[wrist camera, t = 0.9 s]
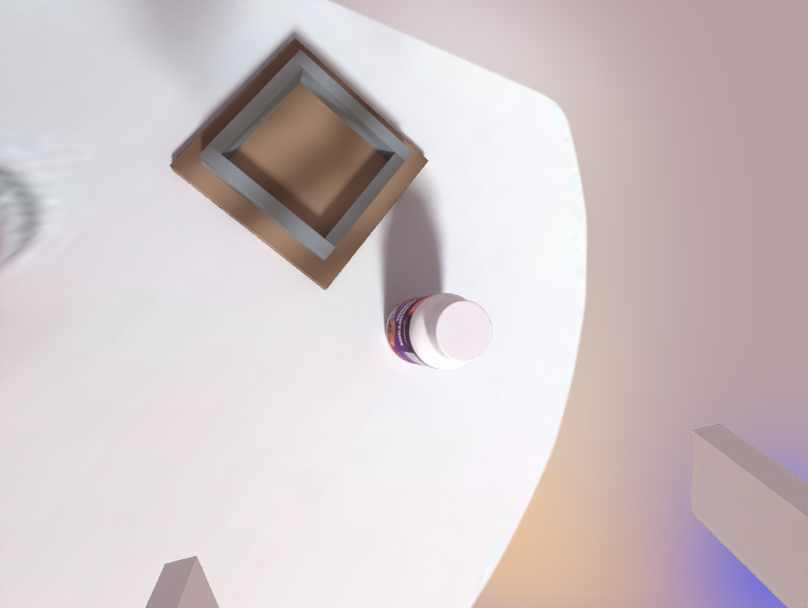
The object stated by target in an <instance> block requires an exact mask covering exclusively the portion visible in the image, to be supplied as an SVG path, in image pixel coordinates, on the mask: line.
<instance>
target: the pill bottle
mask: <svg viewBox="0 0 808 608" xmlns="http://www.w3.org/2000/svg"><path fill="white" fill-rule="evenodd" d="M491 337H492V326H491V321H490V319H489V317H488V315H487V313H486V312H485V310H484V309H483V308H482V307H481V306H479V305H478V304H476V303H474V302H471V301H467V300H466V299H464V298H463V297H460V296H458V295H455V294H449V293H442V294H436V295H431V296H426V297H420V298H414V299H410V300H407V301H404V302H402V303H400V304H399V305H398V306H396V307H395V308H394V310H393V311H392V312H391V314H390V316H389V318H388V320H387V324H386V338H387V342H388V344H389V346H390V348H391V350H392V351H393V352H394V353H395V354H396V355H397V356H398V357H399V358H401V359H403V360H405V361H407V362H410V363H415V364H419V365H423V366H427V367H432V368H436V369H442V370H450V369H455V368H458V367H461V366H463V365H464V364H466V363H467V362H469V361H473V360H475V359H477V358H479V357H480V356H481V355H482V354H483V353H484V352H485V351H486V350H487V348H488V346H489V344H490V342H491Z"/></svg>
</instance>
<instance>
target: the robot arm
mask: <svg viewBox="0 0 808 608" xmlns="http://www.w3.org/2000/svg"><path fill="white" fill-rule="evenodd" d="M692 446H693V447H692V513H693V514H694V515H695V516H696V517H697V518H698V519H699V520H700V521H701V522H702V523H703V524H704V525H705V526H706V527H707V528H708V529H709V530H710V531H711V532H712V533H713V534H714V535H715V536H716V537H717V538H718V539H719V540H720V541H721V542H722V543H723V544H724V545H725V546H726V547H727V548H728V549H729V550H730V551H731V552H732V553H733V554H734V555H735V556H736V557H737V558H738V559H739V560H740V561H741V562H742V563H743V564H744V565H745V566H746V567H747V568H748V569H749V570H750V571H751V572H752V573H753V574H754V575H755V576H756V577H758V579H759V580H760V581H762V583H763V584H764V585H765V586H766V587H767V588H769V590H770V591H771V592H772V593H773V594H774V595H776V596H777V598H778V599H780V600H781V601H782V602H783V603H784V604H785V605H786V606H787V607H788V608H808V484H807V483H806V482H804V481H803V480H801V479H800V478H798V477H797V476H795V475H794V474H792V473H791V472H789V471H788V470H786V469H785V468H784V467H782V466H781V465H779V464H778V463H776V462H775V461H773V460H772V459H770V458H769V457H767V456H766V455H764V454H763V453H761V452H760V451H759V450H757V449H756V448H754V447H753V446H751V445H750V444H748V443H747V442H745V441H744V440H742V439H741V438H739V437H738V436H737V435H735V434H734V433H732V432H731V431H729V430H728V429H726V428H725V427H723V426H722V425H720V424H716V425H712V426H709V427H705V428H701V429H697V430H693V441H692ZM146 608H219V607H218V604H217V602H216V600H215V597H214V595H213V593H212V590H211V588H210V586H209V584H208V581H207V579H206V577H205V574H204V572H203V570H202V567H201V565H200V563H199V560H198V558H197V556H195V557H191V558H187V559H183V560H179V561H175V562H171V563H167V564H165V565H164V568H163V570H162V572H161V574H160V577H159V579H158V581H157V583H156V586H155V588H154V590H153V592H152V595H151V597H150V599H149V601H148V603H147V606H146Z"/></svg>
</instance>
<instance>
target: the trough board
mask: <svg viewBox="0 0 808 608" xmlns="http://www.w3.org/2000/svg"><path fill="white" fill-rule="evenodd" d="M427 162H428V160H427V159H426V158H425V157H424V156H423V155H422V154H421V153H420V152H418V151H417V150H416V149H415V148H414V147H413V146H412V145H411V144H410V143H409V142H408V141H406V140H405V139H404V138H403V137H402V136H401V135H400V134H399V133H398V132H397V131H396V130H394V129H393V128H392V127H391V126H390V125H389V124H388V123H387V122H386V121H385V120H384V119H383V118H381V117H380V116H379V115H378V114H377V113H376V112H375V111H374V110H373V109H372V108H371V107H369V106H368V105H367V104H366V103H365V102H364V101H363V100H362V99H361V98H360V97H359V96H357V95H356V94H355V93H354V92H353V91H352V90H351V89H350V88H349V87H348V86H347V85H346V84H344V83H343V82H342V81H341V80H340V79H339V78H338V77H337V76H336V75H335V74H334V73H332V72H331V71H330V70H329V69H328V68H327V67H326V66H325V65H324V64H323V63H322V62H320V61H319V60H318V59H317V58H316V57H315V56H314V55H313V54H312V53H311V52H310V51H309V50H307V49H306V48H305V47H304V46H303V45H302V44H301V43H300V42H299V41H298V40H297V39H295V38H294V39H293V40H292V41H291V42H290V43H289V44H288V45H287V46H286V47H285V48H284V49H283V51H282V52H281V53H280V54H279V55H278V56H277V57H276V58H275V59H274V60H273V61H272V62H271V63H270V64H269V65H268V66H267V67H266V68H265V69H264V70H263V71H262V72H261V73H260V74H259V75H258V76H257V77H256V78H255V79H254V80H253V81H252V82H251V83H250V84H249V85H248V86H247V87H246V88H245V89H244V90H243V91H242V92H241V93H240V94H239V95H238V96H237V97H236V99H235V100H234V101H233V102H232V103H231V104H230V105H229V106H228V107H227V108H226V109H225V110H224V111H223V112H222V113H221V114H220V115H219V116H218V117H217V118H216V119H215V120H214V121H213V122H212V123H211V124H210V125H209V126H208V127H207V128H206V129H205V130H204V131H203V132H202V133H201V134H200V135H199V136H198V137H197V138H196V139H195V140H194V141H193V142H192V143H191V144H190V145H189V146H188V148H187V149H186V150H185V151H184V152H183V153H182V154H181V155H180V156H179V157H178V158H177V159H176V160H175V161H174V162H173V163H172V164H171V165H170V166H171V168H172V170H173V171H174V172H175V173H177V174H178V175H179V176H181V177H182V178H183V179H184V180H186V181H187V182H188V183H189V184H191V185H192V186H193V187H195V188H196V189H197V190H198V191H200V192H201V193H202V194H203V195H205V196H206V197H207V198H209V199H210V200H211V201H212V202H214V203H215V204H216V205H217V206H219V207H220V208H221V209H222V210H224V211H225V212H226V213H228V214H229V215H230V216H231V217H233V218H234V219H235V220H236V221H238V222H239V223H240V224H242V225H243V226H244V227H245V228H247V229H248V230H249V231H250V232H252V233H253V234H254V235H256V236H257V237H258V238H259V239H261V240H262V241H263V242H264V243H266V244H267V245H268V246H270V247H271V248H272V249H273V250H275V251H276V252H277V253H278V254H280V255H281V256H282V257H283V258H285V259H286V260H287V261H289V262H290V263H291V264H292V265H294V266H295V267H296V268H297V269H299V270H300V271H301V272H303V273H304V274H305V275H306V276H308V277H309V278H310V279H311V280H313V281H314V282H315V283H317V284H318V285H319V286H320V287H322V288H323V289H324V290H326V289H327V288H328V287H329V285H330V284H331V283H332V282H333V280H334V279H335V278H336V277H337V275H338V274H339V273H340V272H341V270H342V269H343V268H344V266H345V265H346V264H347V263H348V261H349V260H350V259H351V258H352V256H353V255H354V254H355V253H356V251H357V250H358V249H359V248H360V246H361V245H362V244H363V243H364V241H365V240H366V239H367V237H368V236H369V235H370V234H371V232H372V231H373V230H374V229H375V227H376V226H377V225H378V224H379V222H380V221H381V220H382V219H383V217H384V216H385V215H386V214H387V212H388V211H389V210H390V208H391V207H392V206H393V205H394V203H395V202H396V201H397V200H398V198H399V197H400V196H401V195H402V193H403V192H404V191H405V190H406V188H407V187H408V186H409V185H410V183H411V182H412V181H413V179H414V178H415V177H416V176H417V174H418V173H419V172H420V171H421V169H422V168H423V167H424V166H425V164H426V163H427Z"/></svg>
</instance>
